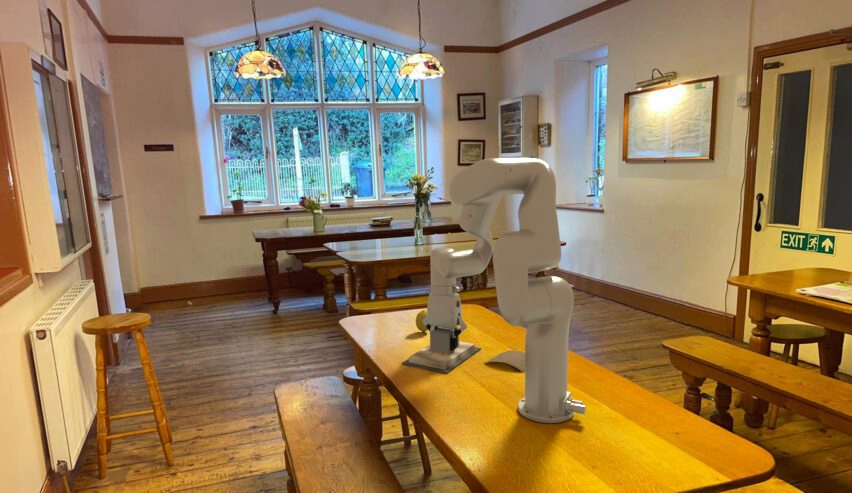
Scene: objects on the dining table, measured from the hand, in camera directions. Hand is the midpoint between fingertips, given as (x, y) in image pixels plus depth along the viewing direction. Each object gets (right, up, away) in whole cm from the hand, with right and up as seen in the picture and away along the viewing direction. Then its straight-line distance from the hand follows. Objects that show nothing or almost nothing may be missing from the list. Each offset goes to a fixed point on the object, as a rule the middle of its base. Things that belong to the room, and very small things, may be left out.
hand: (444, 347), depth 156 cm
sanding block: (0, -1, 0) cm, 1 cm away
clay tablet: (+19, -4, -7) cm, 21 cm away
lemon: (-6, 0, +23) cm, 23 cm away
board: (-1, -3, -1) cm, 3 cm away
